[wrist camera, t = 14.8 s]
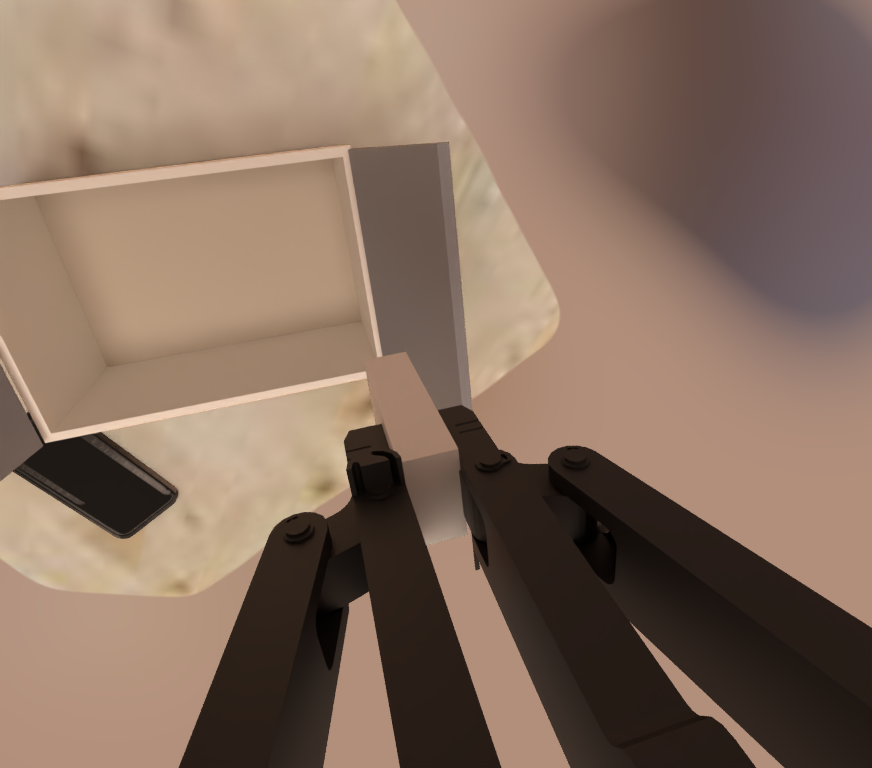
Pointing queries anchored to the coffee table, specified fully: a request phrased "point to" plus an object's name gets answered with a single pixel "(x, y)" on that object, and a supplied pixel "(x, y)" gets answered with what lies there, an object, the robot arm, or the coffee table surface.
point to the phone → (99, 482)
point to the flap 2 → (415, 262)
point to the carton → (183, 288)
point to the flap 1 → (14, 430)
